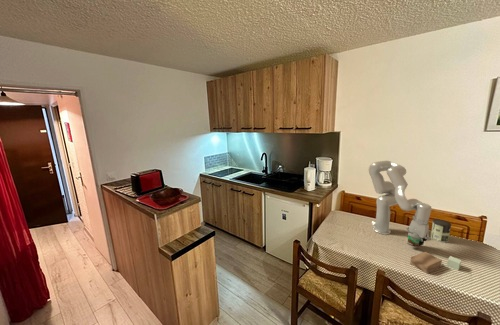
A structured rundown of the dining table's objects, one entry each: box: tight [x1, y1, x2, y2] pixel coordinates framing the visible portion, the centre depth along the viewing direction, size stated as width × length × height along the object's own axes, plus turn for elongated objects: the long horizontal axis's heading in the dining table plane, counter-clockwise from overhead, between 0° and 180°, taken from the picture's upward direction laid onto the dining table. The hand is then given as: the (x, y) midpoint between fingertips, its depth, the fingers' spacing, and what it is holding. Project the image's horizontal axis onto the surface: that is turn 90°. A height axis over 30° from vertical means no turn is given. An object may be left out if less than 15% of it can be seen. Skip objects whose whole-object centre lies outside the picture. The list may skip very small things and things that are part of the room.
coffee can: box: [429, 218, 452, 244], centre depth 149 cm, size 10×10×14 cm
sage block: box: [446, 255, 462, 271], centre depth 122 cm, size 5×5×5 cm
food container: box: [406, 232, 421, 248], centre depth 139 cm, size 12×6×10 cm, turn 107°
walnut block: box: [410, 251, 443, 274], centre depth 124 cm, size 9×14×5 cm, turn 109°
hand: (416, 242), depth 140 cm, fingers closed on food container, 5 cm apart
